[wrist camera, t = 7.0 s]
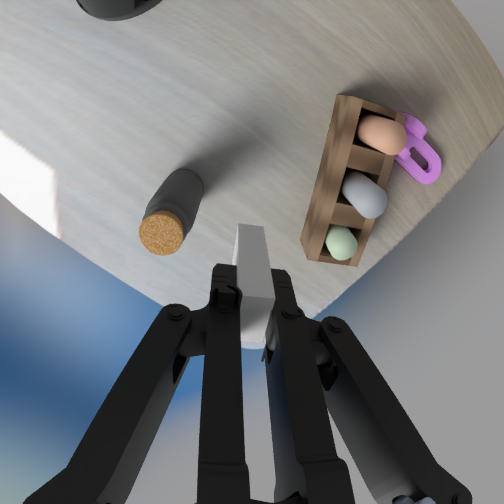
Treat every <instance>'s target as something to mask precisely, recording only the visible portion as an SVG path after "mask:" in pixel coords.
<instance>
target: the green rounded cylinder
mask: <svg viewBox="0 0 504 504" xmlns="http://www.w3.org/2000/svg"><path fill="white" fill-rule="evenodd" d="M324 241H325V243H326V245H327V247H328V249H329V251H330V253H331V255H332V256H333V257H334V258H335V259H337V260H346V259H349V258H350V257H352V256H353V255H354V254H355V252H356V251H357V247H358V243H357V240H356V239H355V237H354V236H353V234H352V233H351V231H350V230H349V229H348V227H347V226H341V225H336V224H329V227H328V230H327V233H326V237H325V240H324Z"/></svg>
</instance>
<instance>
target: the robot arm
mask: <svg viewBox="0 0 504 504" xmlns="http://www.w3.org/2000/svg"><path fill="white" fill-rule="evenodd" d="M160 1H161V0H77V3H78V4H79V6H80V7H81V9H82V10H84V11H85V12H86V13H87V14H89V15H91V16H93V17H96V18H98V19H102V20H107V21H119V20H125V19H129V18H132V17H135V16H138V15H140V14H142V13H144V12H146V11H148V10H149V9H151V8H153V7H154V6H155V5H157V4H158V3H159V2H160ZM265 335H266V345H265V348H264V352H263V356H262V360H261V361H264V358H265V364H266V365H265V366H266V376H267V387H268V398H269V408H270V420H271V431H272V442H273V452H274V463H275V475H276V486H275V490H274V503H268V502H263V501H258V500H253V499H250V484H249V470H248V466H247V464H246V461H245V445H244V420H243V393H242V363H241V341H249V342H264V339H265ZM198 355H205V357H204V371H203V385H202V399H201V416H200V433H199V456H198V480H197V481H198V482H197V503H195V504H355V499H354V494H353V490H352V485H351V479H350V475H349V470H348V467H347V464H346V463H345V461H344V460H342V459H340V458H339V457H338V456H337V453H336V449H335V444H334V439H333V434H332V430H331V425H330V420H329V415H328V411H329V413H330V414H331V416H332V418H333V420H334V422H335V424H336V426H337V428H338V430H339V432H340V434H341V436H342V438H343V440H344V442H345V444H346V446H347V448H348V450H349V452H350V454H351V456H352V458H353V459H354V462H355V463H356V466H357V467H358V469H359V471H360V473H361V475H362V477H363V479H364V481H365V483H366V485H367V487H368V489H369V491H370V492H371V494H372V496H373V498H374V499H375V501H376V502H377V503H378V504H472V495H471V493H470V491H469V490H468V489H467V488H466V487H465V486H464V485H462V484H461V483H460V482H459V481H458V480H456V479H455V478H454V477H453V476H452V475H451V474H449V473H448V472H447V471H446V470H445V469H443V468H442V467H441V466H440V465H439V464H437V462H436V460H435V459H434V457H433V455H432V454H431V452H430V450H429V449H428V447H427V445H426V444H425V442H424V441H423V439H422V437H421V436H420V434H419V433H418V431H417V429H416V428H415V426H414V424H413V423H412V421H411V420H410V418H409V417H408V415H407V414H406V412H405V410H404V409H403V407H402V406H401V404H400V403H399V401H398V399H397V398H396V396H395V395H394V393H393V392H392V390H391V389H390V387H389V385H388V384H387V382H386V381H385V379H384V378H383V376H382V375H381V373H380V372H379V370H378V369H377V367H376V366H375V364H374V363H373V361H372V360H371V358H370V357H369V355H368V354H367V352H366V351H365V349H364V348H363V346H362V345H361V343H360V342H359V340H358V339H357V338H356V336H355V335H354V333H353V332H352V330H351V329H350V327H349V326H348V324H347V323H345V321H344V320H342V319H340V318H337V317H334V316H332V317H331V316H329V317H326V318H324V319H323V320H322V322H319V321H315V320H312V319H309V318H307V317H306V316H305V314H304V312H303V310H302V309H300V308H299V307H298V306H297V302H296V298H295V294H294V290H293V286H292V282H291V278H290V275H289V274H288V273H287V272H286V271H285V270H280V269H271V268H270V263H269V257H268V251H267V245H266V239H265V233H264V227H262V226H254V225H246V224H238V228H237V235H236V241H235V248H234V254H233V261H232V265H228V264H219V263H217V264H216V266H215V267H214V268H213V272H212V281H211V291H210V300H209V303H208V304H207V306H205V307H204V308H202V309H200V310H195V311H190V309H189V308H188V307H186V306H184V305H182V304H169V305H167V306H164V307H163V308H162V309H161V311H160V312H159V314H158V315H157V317H156V318H155V320H154V321H153V323H152V325H151V326H150V328H149V329H148V331H147V332H146V334H145V335H144V337H143V339H142V340H141V342H140V344H139V345H138V346H137V348H136V350H135V351H134V353H133V355H132V356H131V358H130V359H129V361H128V362H127V364H126V366H125V367H124V369H123V371H122V372H121V374H120V376H119V377H118V379H117V380H116V382H115V384H114V385H113V387H112V389H111V390H110V392H109V394H108V395H107V397H106V399H105V400H104V402H103V404H102V405H101V407H100V409H99V410H98V412H97V414H96V416H95V417H94V419H93V421H92V422H91V424H90V426H89V428H88V430H87V431H86V433H85V435H84V437H83V438H82V440H81V442H80V443H79V445H78V447H77V449H76V451H75V453H74V454H73V456H72V458H71V460H70V462H69V463H68V465H67V467H66V468H65V469H63V470H62V471H61V472H60V473H58V474H57V475H56V476H55V477H53V478H52V479H51V480H50V481H48V482H47V483H46V484H44V485H43V486H42V487H41V488H39V489H38V490H37V491H35V492H34V493H33V494H31V495H30V496H29V497H27V498H26V500H25V501H24V502H23V504H124V503H125V502H126V500H127V498H128V496H129V494H130V492H131V490H132V487H133V485H134V483H135V480H136V478H137V476H138V474H139V471H140V469H141V467H142V464H143V462H144V460H145V458H146V455H147V453H148V451H149V449H150V446H151V444H152V442H153V440H154V437H155V435H156V433H157V431H158V428H159V426H160V424H161V422H162V419H163V417H164V415H165V413H166V410H167V408H168V406H169V404H170V402H171V399H172V397H173V395H174V392H175V390H176V388H177V386H178V384H179V382H180V379H181V377H182V375H183V373H184V371H185V368H186V366H187V364H188V362H189V360H190V357H192V356H198ZM327 408H328V411H327Z"/></svg>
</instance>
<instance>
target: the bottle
mask: <svg viewBox="0 0 504 504" xmlns="http://www.w3.org/2000/svg"><path fill="white" fill-rule="evenodd" d="M202 195H203V184H202V181H201V179H200V178H199V176H198V175H196V174H195V173H194V172H192V171H189V170H177V171H175V172H173V173H171V174H170V175H169V176H168V177H167V179H166V180H165V181H164V182H163V184H162V185H161V186H160V188H159V189H158V191H157V192H156V193H155V195H154V196H153V197H152V199H151V200H150V202H149V204H148V205H147V208H146V212H145V215H144V217H143V220H142V223H141V225H140V227H139V237H140V240H141V243H142V244H143V246H144V247H145V248H146V249H147V250H149V251H150V252H152V253H154V254H157V255H169V254H172V253H174V252H176V251H177V250H178V249H179V248H180V246H181V245H182V242H183V241H184V239H185V237H186V235H187V234H188V233H189V231H190V230H191V228H192V226H193V224H194V221H195V218H196V215H197V211H198V208H199V205H200V202H201V198H202Z"/></svg>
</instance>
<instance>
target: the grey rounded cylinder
mask: <svg viewBox="0 0 504 504" xmlns="http://www.w3.org/2000/svg"><path fill="white" fill-rule="evenodd" d="M340 188H341V192H342V194H343V195H344V196H345V197H346V198H347V199H348V200H349V202H350V203H351V204H352V205H353V206H354V207H355V208H356V210H357V211H358V212H359V213H360V214H361V215H362V216H363V217H365V218H369V219H372V218H376V217H378V216H380V215H381V214H382V213H383V212H384V211H385V209H386V207H387V203H388V198H387V195H386V193H385V191H384V190H383V189H381V188H380V187H379V186H378V185H376V184H375V183H374V182H373V181H371V180H370V179H369V178H367V177H366V176H365V175H364V174H362V173H360V172H357V171H353V172H349V173H348V174H346V175H345V176H344V177H343V180H342V183H341V187H340Z"/></svg>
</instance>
